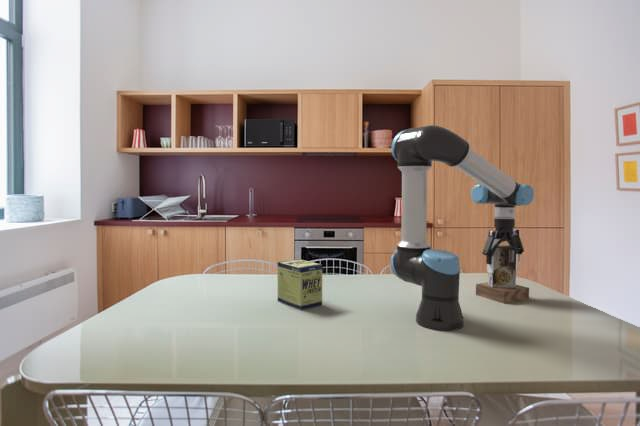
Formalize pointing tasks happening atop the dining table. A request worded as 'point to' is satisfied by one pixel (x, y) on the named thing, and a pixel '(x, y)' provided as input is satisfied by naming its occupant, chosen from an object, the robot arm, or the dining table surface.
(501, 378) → the dining table surface
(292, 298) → the protein box
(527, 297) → the walnut riser block
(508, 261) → the coffee box
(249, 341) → the dining table surface
